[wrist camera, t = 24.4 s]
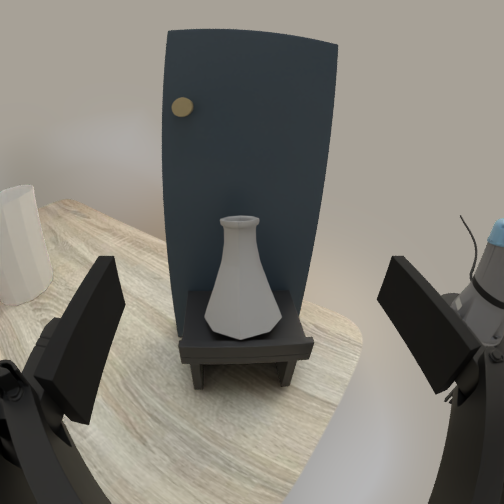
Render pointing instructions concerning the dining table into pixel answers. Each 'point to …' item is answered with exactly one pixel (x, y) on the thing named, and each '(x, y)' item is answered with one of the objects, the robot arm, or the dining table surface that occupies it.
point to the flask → (241, 285)
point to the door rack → (244, 177)
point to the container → (22, 247)
